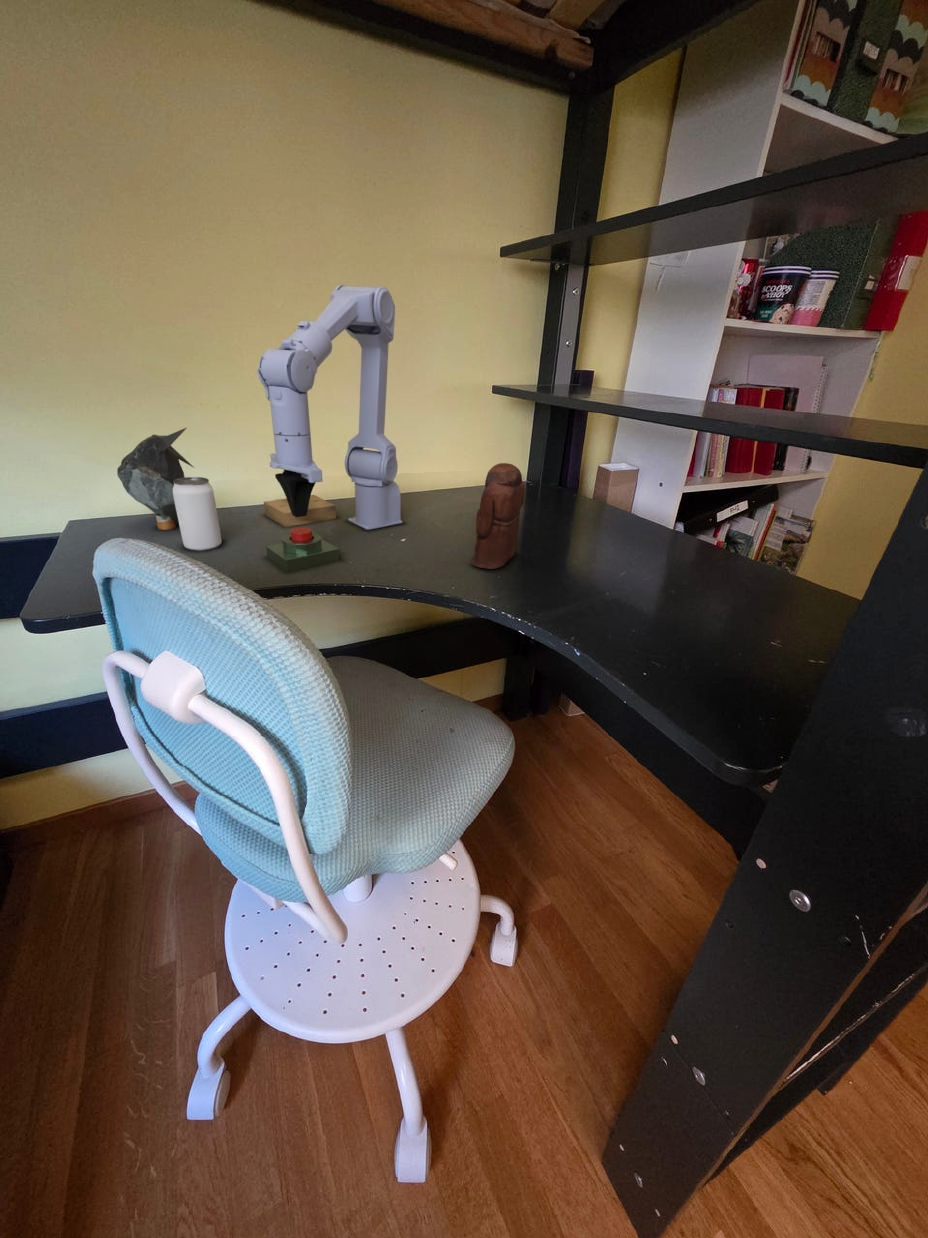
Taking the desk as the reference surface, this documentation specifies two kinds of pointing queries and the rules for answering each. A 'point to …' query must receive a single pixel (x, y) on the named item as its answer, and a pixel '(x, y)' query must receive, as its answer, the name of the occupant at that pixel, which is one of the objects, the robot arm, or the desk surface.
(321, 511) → the plate
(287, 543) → the green button base
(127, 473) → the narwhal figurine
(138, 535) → the desk surface
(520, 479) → the wooden figurine
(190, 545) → the can
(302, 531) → the bell button
